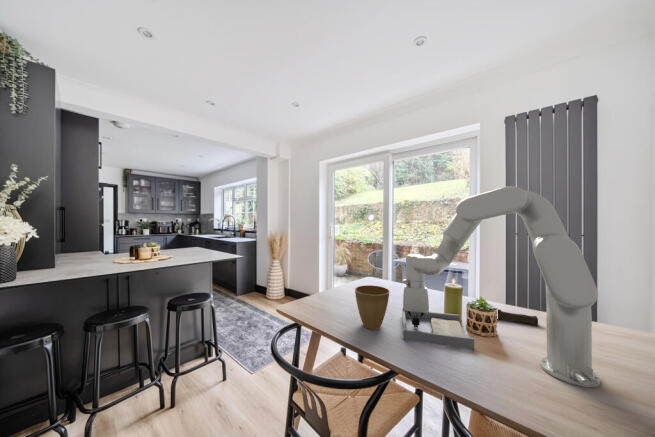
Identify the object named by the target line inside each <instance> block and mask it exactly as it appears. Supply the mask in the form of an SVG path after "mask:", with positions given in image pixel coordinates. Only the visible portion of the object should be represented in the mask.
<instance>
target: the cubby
mask: <svg viewBox="0 0 655 437" xmlns="http://www.w3.org/2000/svg"><path fill="white" fill-rule="evenodd" d="M401 315H402V317H401V318H402V321H401V322H402V336H403V337H402V339H403V340H404V341H411V342H416V343H425V344H433V345H434V344H435V345H440V346H447V347H448V346H449V347H456V348H463V349H471V350H474V349H475V338H474V337H469V336H466V337H462V336H453V335H445V334H436V333H433V332H429V331H428V332H427V331H426V332H425V331H418V330H409V329H407V319H412V317H411V316H410V315H409V314H408V313H406V312H403V310H401ZM414 315H415V318H416V315H417V312H414ZM432 318H438V319H444V320H451V321H459V322H460V315H459V314H454V313H443V312H442V313H441V312H435V311H434V312H433V311H429V314H424V315H423V316H421V317H420V320H422V321H424V320H425V321H431V319H432Z"/></svg>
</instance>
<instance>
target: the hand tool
mask: <svg viewBox="0 0 655 437" xmlns="http://www.w3.org/2000/svg"><path fill="white" fill-rule="evenodd" d="M501 320H505V321H512V322H518V323H522V324H528V325H533V326H535V327H538V326H539V319H538V316H536V315H529V314H522V313H513V312H506V311H502V310H501V309H498V321H501Z"/></svg>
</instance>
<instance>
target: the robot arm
mask: <svg viewBox="0 0 655 437" xmlns="http://www.w3.org/2000/svg"><path fill="white" fill-rule="evenodd" d="M509 214H517V215H518V216H519V217H520V218H521V219H522V221H523V223H524V226H525V228H526V230H527V232H528V235H529V238H530V241H531V243H532V244H531V245H532V252H533V256H534V258H535V261H536V263H537V266H538V268H539V270H540V272H541V275H542V278H543V281H544V282H545V298H546V300H545V301H546V302H545V303H546V357H542V358H541V359H540V366H541V368H542V369H543V370H544V371H545V372H546V373H548V374H549V375H550V376H553V377H554V378H557V379H559V380H561V381H564V382H566V383H568V384H571V385H575V386H579V387H584V388H585V387H586V388H596V387H599V386H600V385H601V377H599V375H598V374H597V373H596V372H594V369H593V361H592V360H593V356H592V355H593V354H592V353H593V352H592V350H593V347H592V346H593V345H592V344H593V343H592V336H593V335H592V326H593V325H592V324H593V322H592V321H593V319H592V306H593V305H594V304H595V303H596V302H597V301H598V296H599V292H598V289H597V286H596V283H595V280H594V279H593V276H592V274H591V272H590V271H591V270H590V269H589V266H588V264H587V263H586V260H585V258H584V255H583V253H582V251H581V249H580V247H579V246H578V245H577V243H576V242H575V241H574V240H572V239H571V238H570V236H569V234H568V233H567V231H566V229H565V226H564V224H563V222H562V220H561V218H560V216H559V214H558V212H557V210H556V208H555V207H554V205H553V204H552V202H550V201H549V200H548V199H547V198H545V197H544V196H543V195H541V194H539V193H536V192H534V191H531V190H530V191H529V190H524V189H523V188H521V187H519V186H514V185H510V186H509V185H508V186H504V187H500V188H496V189H492V190H489V191H486V192H482V193H479V194H474V195H473V196H468V197H465V198H463V199H461V200H460V201H459V202H458V203H457V204H456V207H455V214H454V215H453V217H451V218H452V219H451V220H450V221H449V223H448V224H447V226H446V227H445V228H444V230H443V233H442V239H441V242H440V244H439V246H438V247H437V248H436V250H435V251H434V253H433V254H431V255H430V256H429V255H428V256H424V255H422V254H419V253H408V254H407V255H406V256H405V279H402V283H403V284H404V286H403V293H402V295H403V296H402V310H403V312H406V313H408V314H409V315H410V316H411V317H412V318H411V325H412V326H413V328H416V329H419V326H420V324H421V323H420V320H421V319H420V317H421V316H423V315H424V314H429V312H430V311H429V309H430V303H429V302H430V300H429V292H428V287H427V286H426V281H425V280H426V276H432V277H433V276H438V275H439V274H441V273H442V272H444V271H445V270H446V269H447V268H449V266H450V264H451V263H452V262H453V261H454V260H455V258H456V256H457V255H458V254H459V253H460V251H461V249H462V248H463V247H464V246H465V244H466V242H467V241H468V240H469V238H470V237H471V236H472V234H473V233H474V231H475V230H476V229H477V227H478V226H479V225H480V224H481V222H482V221H483V220H487V219H491V218H495V217H500V216H505V215H509ZM402 310H401V311H402ZM414 312H417V315H416V318H415V315H414Z"/></svg>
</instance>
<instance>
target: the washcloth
mask: <svg viewBox="0 0 655 437" xmlns="http://www.w3.org/2000/svg"><path fill="white" fill-rule="evenodd" d="M430 322H431V324H430V326H431V331H432V332H431V333H436V334H445V335H453V336H462V337H467V336H466V334H465V331H464V330H463V326H462V325H461V322H460V320H459V321H451V320H444V319H438V318H432V319H431V320H430Z"/></svg>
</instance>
